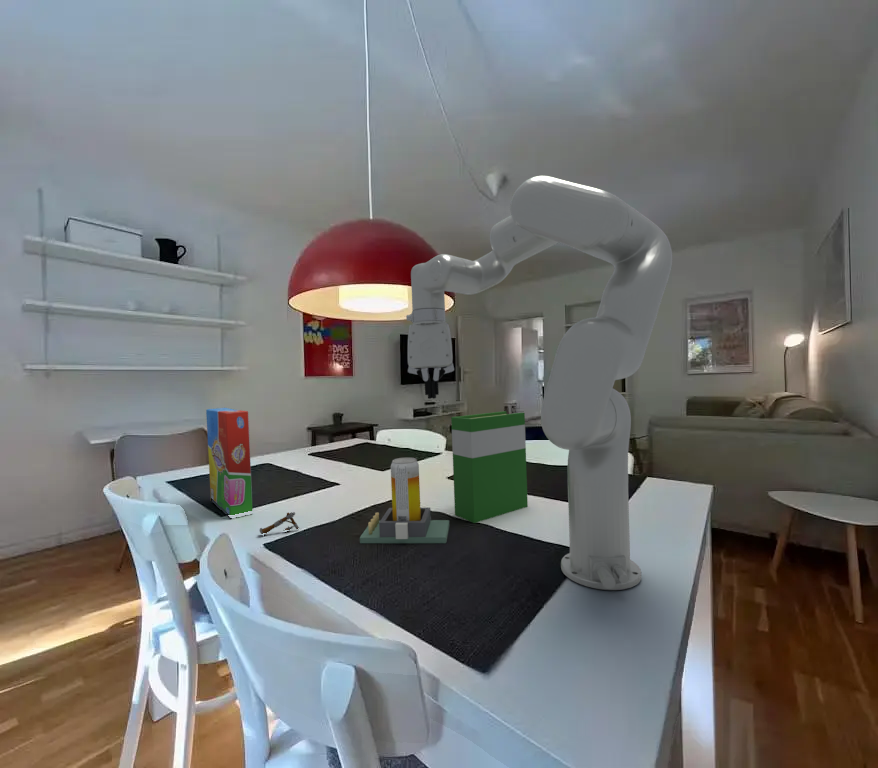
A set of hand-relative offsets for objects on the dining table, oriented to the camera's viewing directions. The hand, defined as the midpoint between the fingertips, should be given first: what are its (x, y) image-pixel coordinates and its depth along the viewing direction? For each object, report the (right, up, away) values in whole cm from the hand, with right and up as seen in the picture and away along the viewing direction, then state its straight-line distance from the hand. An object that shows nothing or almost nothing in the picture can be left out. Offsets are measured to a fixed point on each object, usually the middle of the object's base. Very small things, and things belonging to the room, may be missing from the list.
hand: (432, 398), depth 96 cm
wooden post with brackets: (-35, -31, -2) cm, 46 cm away
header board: (-5, -29, -6) cm, 31 cm away
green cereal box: (+15, -29, +7) cm, 33 cm away
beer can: (-5, -28, -6) cm, 30 cm away
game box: (-55, -31, +17) cm, 66 cm away
